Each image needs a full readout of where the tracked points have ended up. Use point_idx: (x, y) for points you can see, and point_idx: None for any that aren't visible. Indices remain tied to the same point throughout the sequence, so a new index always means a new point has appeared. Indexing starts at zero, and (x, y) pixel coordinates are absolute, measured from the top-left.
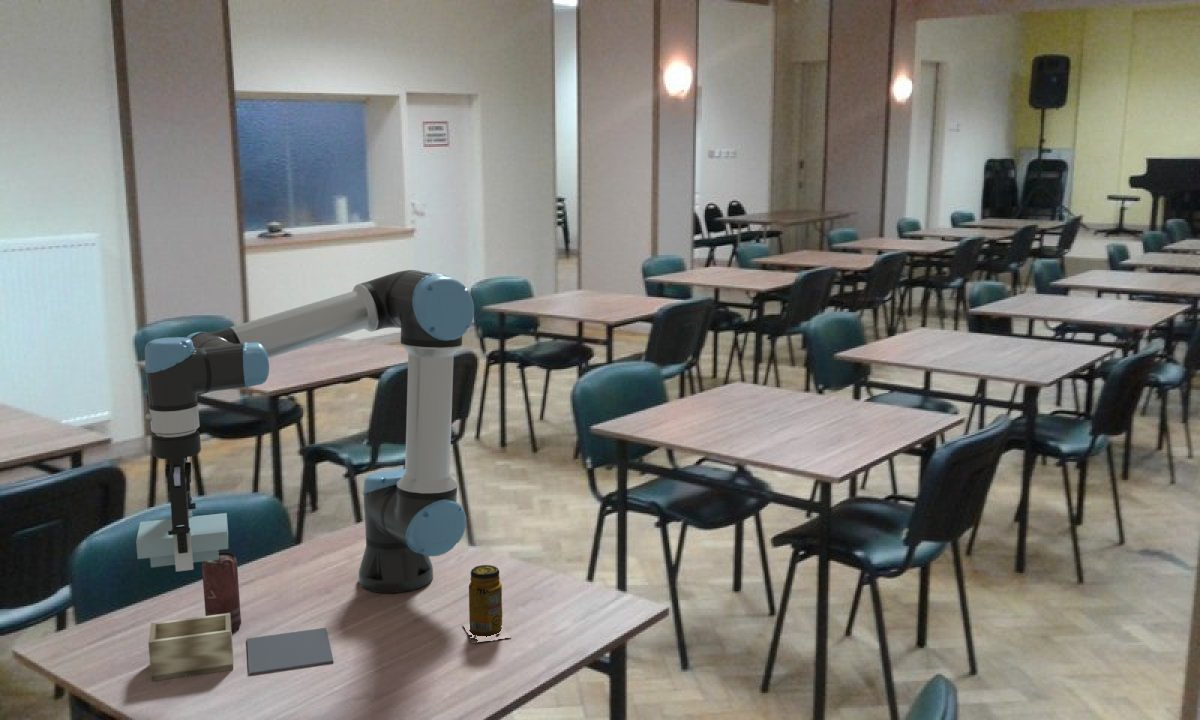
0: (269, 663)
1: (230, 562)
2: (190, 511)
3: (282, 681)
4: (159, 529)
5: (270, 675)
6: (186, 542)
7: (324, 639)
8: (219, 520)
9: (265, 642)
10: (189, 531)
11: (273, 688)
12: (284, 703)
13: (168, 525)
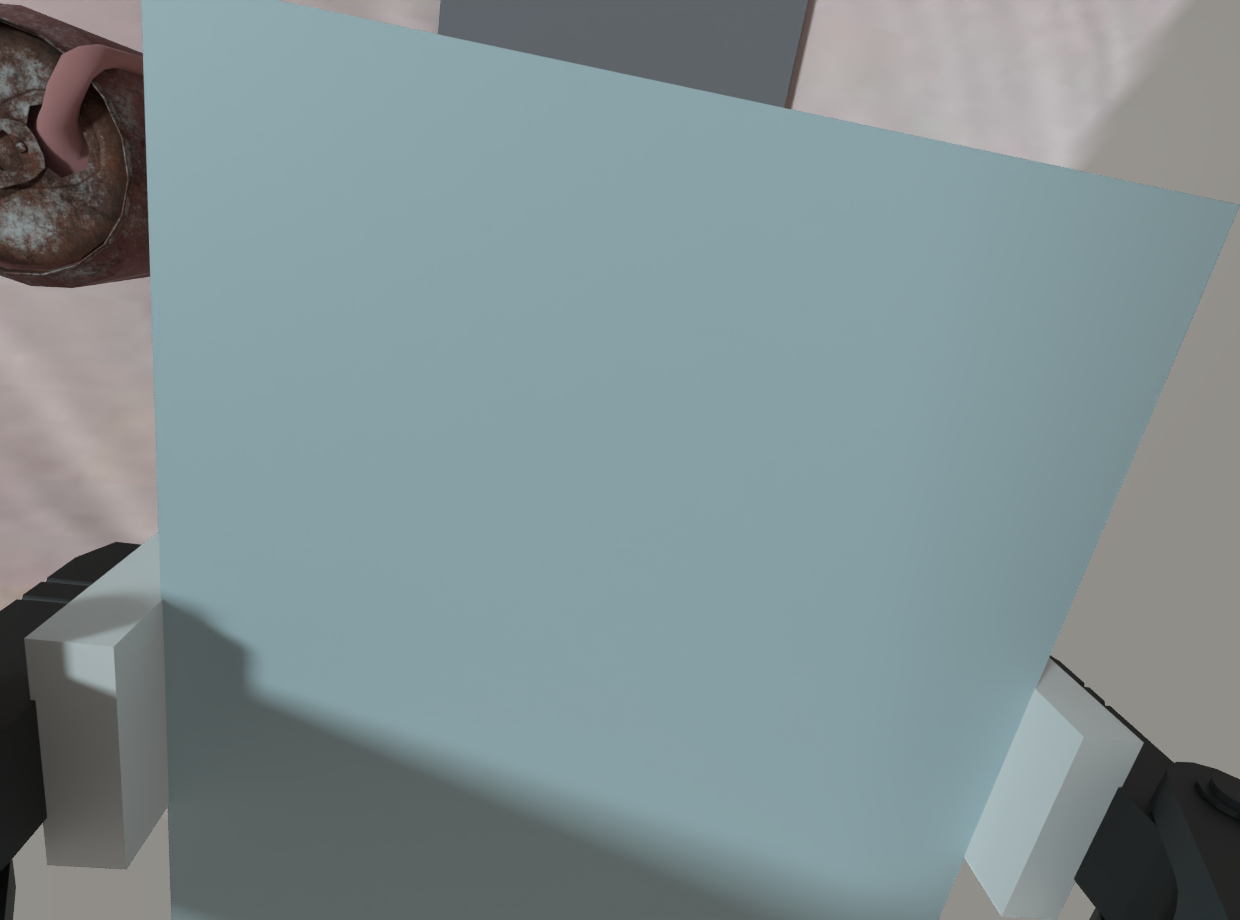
0: (731, 72)
1: (102, 75)
2: (77, 666)
3: (891, 59)
4: None
5: (814, 93)
6: (1123, 721)
7: None
8: (587, 215)
9: (512, 34)
10: (1111, 751)
11: (924, 109)
12: (1059, 100)
13: (467, 888)
